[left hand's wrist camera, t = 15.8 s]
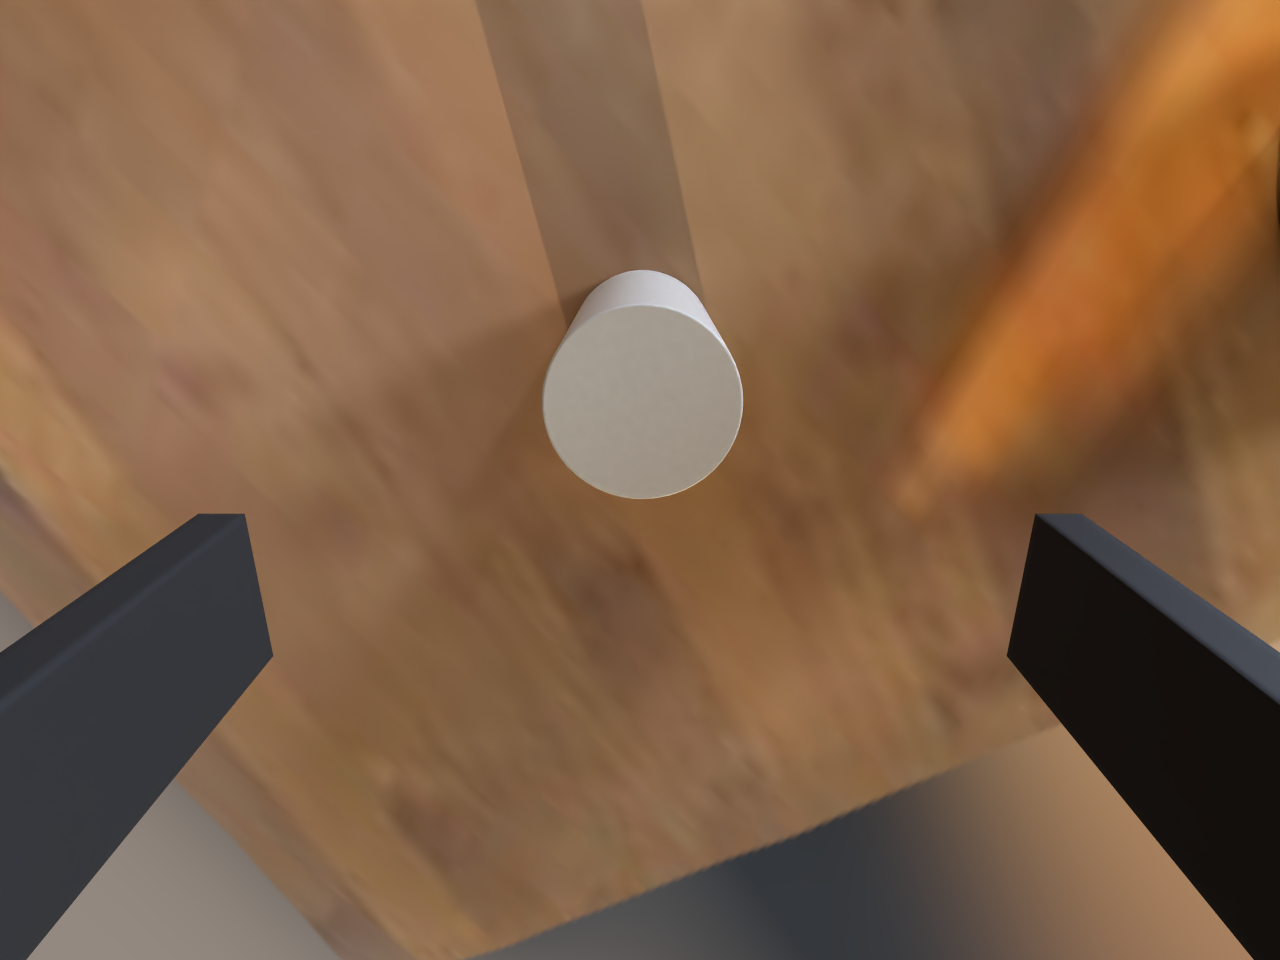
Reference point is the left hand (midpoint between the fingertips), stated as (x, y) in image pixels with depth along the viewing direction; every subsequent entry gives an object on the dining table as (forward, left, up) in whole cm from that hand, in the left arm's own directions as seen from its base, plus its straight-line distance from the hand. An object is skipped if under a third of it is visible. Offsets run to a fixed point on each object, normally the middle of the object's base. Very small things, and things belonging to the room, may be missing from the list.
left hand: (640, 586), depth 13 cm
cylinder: (0, 0, -22) cm, 22 cm away
